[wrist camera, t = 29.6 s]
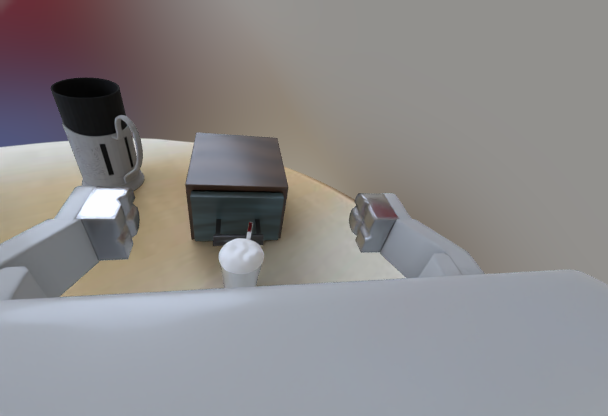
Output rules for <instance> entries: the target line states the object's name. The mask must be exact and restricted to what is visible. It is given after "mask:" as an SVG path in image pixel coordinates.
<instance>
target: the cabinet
mask: <svg viewBox="0 0 608 416" xmlns="http://www.w3.org/2000/svg"><path fill="white" fill-rule="evenodd" d="M185 185H186V194H187V203H188V211H189V220H190V229H191V237H192V240H193V239H195V237H194V227H193V218H192V209H191V199H190V195H191V191H199V190H228V191H272V192H276V193H283V195H284V202H283V209H282V215H281V222H280V229H279V235H278V238H280V237H281V230H282V224H283V217H284V211H285V205H286V199H287V192H288V184H287V179H286V175H285V170H284V166H283V162H282V157H281V153H280V148H279V144H278V139H277V138H270V137H254V136H240V135H225V134H210V133H196V137H195V141H194V146H193V151H192V156H191V160H190V165H189V170H188V175H187V180H186V184H185Z"/></svg>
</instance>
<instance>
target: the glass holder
mask: <svg viewBox="0 0 608 416" xmlns="http://www.w3.org/2000/svg"><path fill="white" fill-rule="evenodd" d="M51 91H52V94H53V96H54V99H55V101H56V104H57V107H58V109H59V112H60V115H61V117H62V121H63V123H62V124H63V127H64V130H65V132H66V135H67V138H68V140H69V143H70V146H71V148H72V151H73V153H74V156H75V159H76V161H77V164H78V167H79V169H80V172H81V174H82V177H83V181H82V186H95V187H97V186H101V187H124V188H131V189H132V190H133V191H134V190H136V189H137V188H139V187H140V186H141V185H142V183H143V182H144V175H143V173H142V172H141V170H140V167H141V165H142V159H143V150H142V144H141V139H140V136H139V133H138V131H137V128H136V126H135V125H134V124H133V122H132V121H131V120H130V119H129V118H128V117H126V114H125V110H124V106H123V101H122V97H121V93H120V88H119V86H118V85H117V84H116V83H114V82H112V81H109V80H104V79H99V78H73V79H66V80H62V81H59V82H56V83H55V84H53V85H52V86H51ZM130 129H131V130H130ZM131 131H132V133H133V136H134V140H135V144H136V150H137V156H136V152H135V148H134V143H133V139H132V135H131Z"/></svg>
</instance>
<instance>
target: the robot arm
mask: <svg viewBox="0 0 608 416" xmlns="http://www.w3.org/2000/svg"><path fill="white" fill-rule="evenodd" d="M134 199H135V196H134V193H133V190H132V189H131V188H124V187H101V186H97V187H95V186H78V187H76V188H75V189H74V190H73V192H72V193H71V195H70V196H69V197H68V199H67V200H66V202H65V203H64V205H63V206H62V208H61V209H60V211H59V212H58V214H57V215H56V217H55V218H54V219H47V220H46V221H44V222H42V223H40V224H38V225H36V226H34V227H32V228H30V229H28V230H26V231H24V232H22V233H20V234H19V235H17V236H15V237H13V238H11V239H9V240H7V241H5V242H3V243H1V244H0V416H608V285H607V284H605V283H604V282H602V281H600V280H598V279H596V278H594V277H592V276H590V275H588V274H585V273H583V272H581V271H577V270H553V271H534V272H516V273H499V274H485V273H484V272H483V271H482V270H481V268H480V267H479V266H478V264H477V263H476V262H475V260H474V259H473V258H472V257H471V255H470V254H469V253H468V252H467V251H466V250H464V249H463V248H461V247H459V246H458V245H456V244H454V243H453V242H451V241H450V240H448V239H446V238H445V237H443V236H442V235H440V234H438V233H437V232H435V231H433V230H432V229H430V228H429V227H427V226H425V225H424V224H422V223H420V222H419V221H417V220H415V219H411V217H410V216H409V214H408V212H407V211H406V210H405V208H404V206H403V205H402V204H401V202H400V200H399V199H398V197H397V196H396V195H395V194H393V193H384V194H383V193H382V194H366V193H365V194H364V193H359V194H358V195H357V196H356V199H355V203H356V206H355V207H354V208H353V209H352V210H351V213H350V218H349V224H350V228H351V231H352V232H353V233H354V234H355V235H357V237H356V243H357V245H358V247H359V250H360V252H380V254H381V255H382V256H383V257H384V258H385V259H387V260H388V261H389V262H390V263H391V264H392V265H393V266H394V267H395V268H396V269H397V270H398V271H399V272H401V273H402V274H403V275H404V276H405V277H406V278H404V279H386V280H368V281H349V282H330V283H311V284H292V285H274V286H256V287H237V288H219V289H200V290H182V291H163V292H145V293H126V294H108V295H89V296H71V297H60V296H61V295H62V294H63V293H64V292H65V291H66V290H68V289H69V288H70V287H71V286H72V285H73V284H74V283H76V282H77V281H78V280H79V279H80V278H81V277H82V276H84V275H85V274H86V273H87V272H88V271H89V270H90V269H92V268H93V267H94V266H95V265H96V264H97V263H98V262H99V261H101V260H121V259H128V258H129V255H130V252H131V249H132V246H133V241H132V237H134V236H135V235H136V234H137V232H138V229H139V220H140V219H139V211H138V208H137V207H136V206H135V205H134V204H133V202H134Z"/></svg>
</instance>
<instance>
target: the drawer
mask: <svg viewBox="0 0 608 416" xmlns="http://www.w3.org/2000/svg"><path fill="white" fill-rule="evenodd" d="M190 199H191V209H192V218H193V227H194V237H195V241H213V246H224V245H225V244H226V243H228V242H229V241H231V240H234V239H237V238H243V239H246V236H247V231H248V225H249V222H252V223H253V227H252V233H251V239H250V240H252V241H254V242H256V243H258V244H259V245H263V240H278V235H279V229H280V222H281V215H282V209H283V202H284V195H283V193H276V192H272V191H228V190H199V191H191V195H190Z"/></svg>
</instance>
